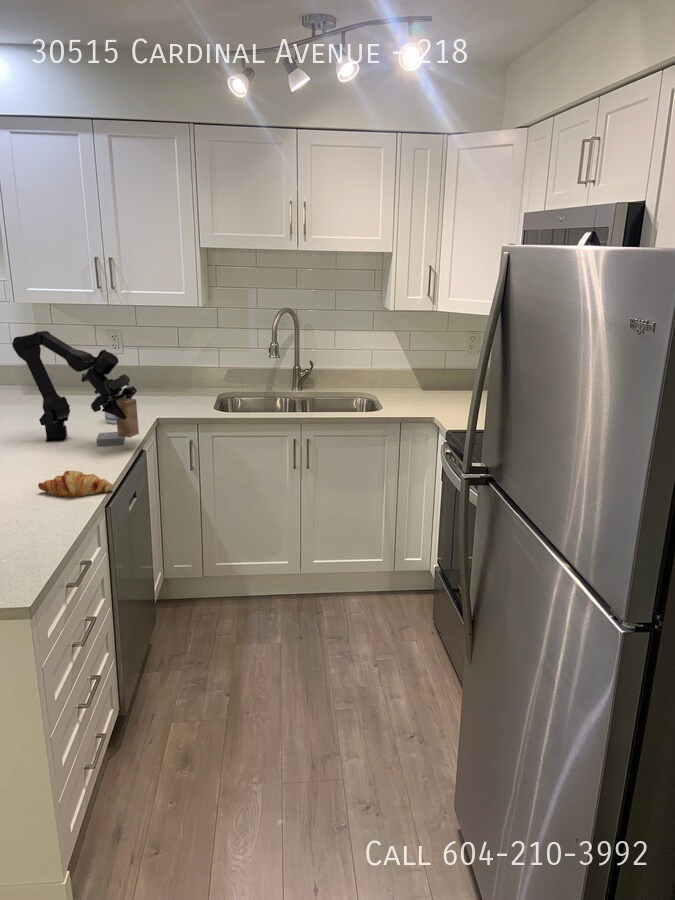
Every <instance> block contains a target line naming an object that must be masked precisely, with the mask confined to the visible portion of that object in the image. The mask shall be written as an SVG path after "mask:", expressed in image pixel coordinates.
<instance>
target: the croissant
mask: <svg viewBox="0 0 675 900" xmlns="http://www.w3.org/2000/svg"><path fill="white" fill-rule="evenodd" d="M37 486H38V489H40V490H41V491H43V492H46V493H48V494H49V495H51V496H53V497H54V496H59V497H65V498H66V497H67V498H68V497H73V498H74V497H78V496H79V497H83V496H88V495H95V494H100V493H107V492H110V491H112V490H113V489H114V484H113V483H111V482H110V481H108V480H107V479H105V478H103V479H102V478H100V477H99V476H97V475H96V474H94V473H91V474H89V473H88V474H84V473H83V471H82V472H81V471H79V470H66V471H64V473H63V474H62V475H57V476H55V477H54V478H53V479H47V480H45V481H44V482H38V485H37Z"/></svg>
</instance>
